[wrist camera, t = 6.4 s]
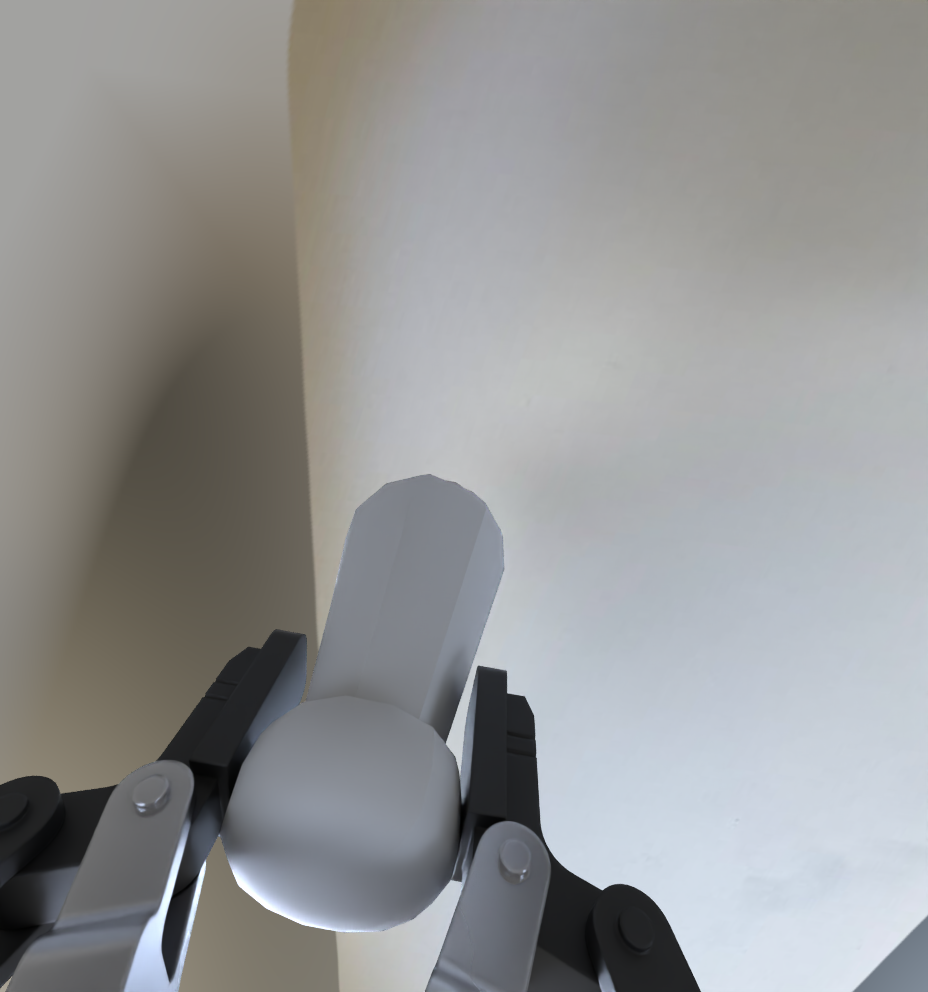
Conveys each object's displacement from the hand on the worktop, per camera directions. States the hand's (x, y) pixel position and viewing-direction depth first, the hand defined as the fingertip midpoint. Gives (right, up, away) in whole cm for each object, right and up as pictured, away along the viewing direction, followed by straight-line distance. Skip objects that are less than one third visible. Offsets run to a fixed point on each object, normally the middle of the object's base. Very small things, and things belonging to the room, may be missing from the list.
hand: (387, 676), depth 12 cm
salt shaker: (+1, +4, +8) cm, 8 cm away
